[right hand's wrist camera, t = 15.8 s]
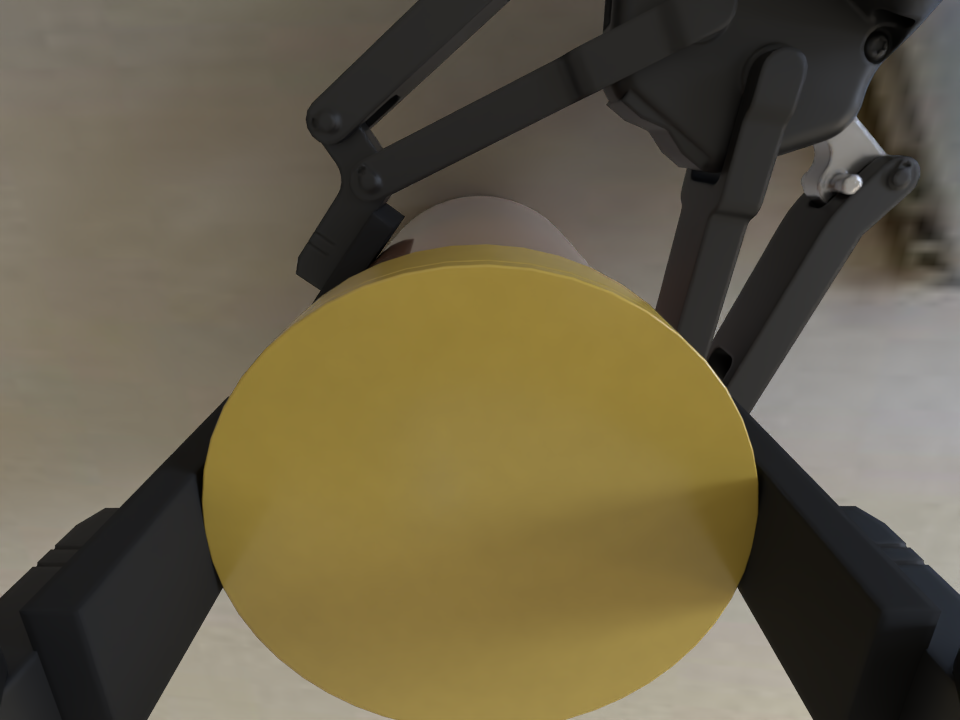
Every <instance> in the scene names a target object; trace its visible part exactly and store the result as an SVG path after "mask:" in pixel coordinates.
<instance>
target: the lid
mask: <svg viewBox="0 0 960 720" xmlns="http://www.w3.org/2000/svg"><path fill="white" fill-rule="evenodd" d="M202 510H203V520H204V527H205V533H206V537H207V542H208V546H209V551H210V555H211V559H212V562H213V565H214V567H215V569H216V572H217V574H218V577H219V579H220V581H221V584H222V586H223V588H224V590H225V592H226V594H227V595H228V597H229V599H230V600H231V602H232V604H233V605H234V607H235V609H236V610H237V612H238V614H239V615H240V616H241V618H242V619H243V620H244V622H245V623H246V624H247V625H248V627H249V628H250V629H251V630H252V632H253V633H254V634H255V635H256V637H257V638H258V639H259V640H260V641H261V642H262V643H263V644H264V645H265V646H266V647H267V648H268V649H269V650H270V651H271V652H272V653H273V654H274V655H275V656H276V657H277V658H278V659H280V660H281V661H282V662H283V663H285V664H286V665H287V666H289V667H290V668H291V669H292V670H294V671H295V672H296V673H297V674H299V675H300V676H301V677H303V678H304V679H306V680H308V681H309V682H311V683H312V684H314V685H316V686H317V687H319V688H321V689H322V690H324V691H325V692H327V693H329V694H331V695H333V696H335V697H337V698H339V699H341V700H343V701H346V702H348V703H350V704H352V705H354V706H356V707H359V708H362V709H364V710H367V711H370V712H373V713H375V714H378V715H381V716H384V717H388V718H391V719H395V720H566V719H569V718H572V717H575V716H579V715H582V714H585V713H588V712H591V711H594V710H597V709H599V708H601V707H603V706H606V705H608V704H610V703H613V702H615V701H617V700H620V699H622V698H624V697H626V696H627V695H629V694H631V693H633V692H634V691H636V690H638V689H640V688H642V687H643V686H645V685H647V684H649V683H650V682H651V681H653V680H654V679H656V678H657V677H658V676H660V675H661V674H663V673H664V672H665V671H667V670H668V669H670V668H671V667H672V666H674V665H675V664H676V663H677V662H678V661H679V660H680V659H681V658H683V657H684V656H685V655H686V654H687V653H688V652H689V651H690V650H691V649H693V648H694V647H695V646H696V645H697V644H698V642H699V641H700V640H701V639H702V638H703V637H704V635H705V634H706V633H707V632H708V631H709V630H710V629H711V627H712V626H713V625H714V624H715V623H716V621H717V620H718V618H719V617H720V615H721V614H722V612H723V611H724V609H725V608H726V606H727V605H728V603H729V602H730V600H731V599H732V597H733V595H734V592H735V590H736V588H737V586H738V584H739V582H740V580H741V578H742V576H743V574H744V572H745V569H746V566H747V562H748V559H749V556H750V552H751V548H752V544H753V539H754V534H755V529H756V523H757V518H758V477H757V471H756V464H755V458H754V452H753V448H752V445H751V442H750V439H749V436H748V433H747V430H746V427H745V424H744V421H743V418H742V416H741V414H740V413H739V411H738V409H737V407H736V405H735V403H734V401H733V399H732V397H731V395H730V393H729V392H728V390H727V388H726V387H725V385H724V384H723V383H722V381H721V380H720V379H719V377H718V376H717V374H716V373H715V372H714V370H713V369H712V368H711V366H710V365H709V364H708V362H707V361H706V360H705V359H704V358H703V357H702V356H701V355H700V354H699V353H698V352H697V351H696V350H695V349H694V348H693V347H692V346H691V345H690V344H689V343H688V342H687V341H686V340H685V339H684V338H683V337H682V336H681V335H680V334H679V333H678V332H677V331H676V330H675V329H674V328H673V327H672V326H671V325H670V324H669V323H668V322H667V321H666V320H665V319H664V318H663V317H662V316H661V315H660V314H659V313H657V312H656V311H655V310H654V309H653V308H652V307H651V306H650V305H649V304H648V303H647V302H645V301H644V300H643V299H641V298H640V297H639V296H637V295H636V294H635V293H633V292H632V291H630V290H629V289H628V288H626V287H625V286H624V285H622V284H621V283H619V282H617V281H615V280H613V279H611V278H609V277H608V276H606V275H604V274H602V273H600V272H598V271H596V270H595V269H593V268H591V267H588V266H585V265H583V264H580V263H577V262H575V261H572V260H569V259H567V258H564V257H561V256H559V255H554V254H550V253H545V252H541V251H537V250H532V249H528V248H523V247H512V246H501V245H490V244H481V245H456V246H446V247H441V248H435V249H429V250H423V251H418V252H413V253H410V254H407V255H404V256H401V257H398V258H394V259H391V260H388V261H385V262H382V263H380V264H377V265H375V266H373V267H371V268H369V269H367V270H365V271H363V272H361V273H358V274H356V275H354V276H352V277H350V278H348V279H347V280H345V281H344V282H342V283H341V284H339V285H338V286H336V287H335V288H333V289H332V290H330V291H329V292H327V293H326V294H324V295H322V296H321V297H320V298H319V299H318V300H317V301H315V302H314V303H313V304H312V305H311V306H310V307H309V308H308V309H306V310H305V311H304V312H303V313H302V314H301V315H300V316H298V317H297V318H296V319H295V320H294V321H293V322H292V323H291V324H290V325H289V326H288V327H287V328H286V329H285V330H284V331H283V332H282V333H281V334H280V335H279V336H278V337H277V338H276V339H275V340H274V341H273V342H272V343H271V344H270V345H269V346H268V347H267V348H266V349H265V350H264V351H263V352H262V353H261V354H260V356H259V357H258V358H257V359H256V360H255V362H254V363H253V364H252V365H251V366H250V368H249V369H248V370H247V371H246V372H245V373H244V375H243V376H242V377H241V379H240V380H239V382H238V384H237V385H236V387H235V389H234V390H233V392H232V394H231V395H230V397H229V398H228V400H227V402H226V403H225V405H224V407H223V409H222V412H221V414H220V416H219V419H218V421H217V424H216V426H215V429H214V431H213V434H212V436H211V439H210V444H209V448H208V453H207V457H206V461H205V466H204V472H203V488H202Z"/></svg>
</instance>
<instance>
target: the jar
mask: <svg viewBox="0 0 960 720" xmlns="http://www.w3.org/2000/svg"><path fill="white" fill-rule="evenodd" d="M481 244H490V245H501V246H512V247H523V248H528V249H532V250H537V251H541V252H545V253H550V254H554V255H559V256H561V257H564V258H567V259H569V260H572V261H575V262H577V263H580V264H583V265H585V266H588V267H591V266H590V265H589V264H588V263H587V261H586V260H585V259H584V258H583V257H582V256H581V255H580V253H579V252H578V251H577V250H576V249H575V248H574V247H573V245H572V244H571V243H570V242H569V241H568V240H567V238H566V237H565V236H564V235H563V234H562V233H561V232H560V231H559V230H558V229H557V228H556V227H555V226H554V225H553V224H552V223H551V222H550V221H549V220H548V219H546V218H545V217H544V216H542V215H541V214H540V213H538V212H536V211H535V210H533V209H531V208H529V207H527V206H525V205H523V204H520V203H518V202H515V201H512V200H508V199H504V198H500V197H493V196H466V197H461V198H455V199H451V200H448V201H445V202H442V203H439V204H437V205H435V206H433V207H431V208H429V209H427V210H425V211H424V212H422V213H421V214H419V215H418V216H416V217H415V218H413V219H412V220H411V221H410V222H409V223H408V224H407V225H406V226H404V227H403V229H402V230H401V231H400V232H399V233H398V234H397V235H396V237H395V238H394V239H393V240H392V241H391V242H390V244H389V245H388V246H387V247H386V248H385V249H384V251H383V252H382V253H381V254H380V255H379V256H378V258H377V259H376V260H375V261H374V262H373V263H372V264H371V266H370V267H369V268H371V267H373V266H375V265H377V264H380V263H382V262H385V261H388V260H391V259H394V258H398V257H401V256H404V255H407V254H410V253H413V252H418V251H423V250H429V249H435V248H441V247H446V246H456V245H481ZM369 268H368V269H369ZM591 268H592V267H591Z"/></svg>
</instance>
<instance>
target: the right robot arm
mask: <svg viewBox="0 0 960 720" xmlns="http://www.w3.org/2000/svg"><path fill="white" fill-rule="evenodd" d="M228 398H229V397H227V398H226V399H225V400H224V401H223V402H222V404H221V405H220V406H219V407H218V408H217V409H216V410H215V411H214V412H213V413H212V414H211V415H210V416H209V417H208V418H207V419H206V420H205V421H204V422H203V423H202V424H201V425H200V426H199V427H198V428H197V429H196V430H195V431H194V432H193V433H192V434H191V435H190V436H189V437H188V438H187V439H186V440H185V441H184V442H183V443H182V444H181V446H180V447H179V448H178V449H177V450H176V451H175V452H174V453H173V454H172V455H171V456H170V457H169V458H168V459H167V460H166V461H165V462H164V463H163V464H162V465H161V466H160V467H159V468H158V469H157V470H156V471H155V472H154V473H153V474H152V475H151V476H150V477H149V478H148V479H147V480H146V481H145V482H144V483H143V484H142V485H141V486H140V488H139V489H138V490H137V491H136V492H135V493H134V494H133V495H132V496H131V497H130V498H129V499H128V500H127V501H126V502H125V503H124V504H123V505H122V506H121V507H120V508H104V509H103V510H101V511H99V512H98V513H96V514H94V515H93V516H91V517H89V518H88V519H86V520H84V521H83V522H81V523H79V524H78V525H76V526H75V527H74V528H73V529H72V530H71V531H70V532H69V533H68V534H67V535H66V536H65V537H63V538H62V539H61V540H60V541H59V542H58V543H57V544H56V545H55V549H54V550H50V551H49V552H48V553H47V554H46V555H45V556H44V557H43V558H42V559H40V560H39V561H38V562H37V566H36V567H32V568H31V569H30V570H29V571H28V572H27V573H26V574H25V575H24V576H23V577H22V578H21V579H20V580H19V581H18V582H16V583H15V584H14V585H13V586H12V587H11V588H10V589H9V590H8V591H7V592H6V593H5V594H4V595H3V596H2V597H1V598H0V720H147V719H148V717H149V716H150V714H151V712H152V710H153V709H154V707H155V705H156V703H157V702H158V700H159V698H160V696H161V695H162V693H163V691H164V689H165V688H166V686H167V684H168V682H169V681H170V679H171V677H172V675H173V674H174V672H175V670H176V668H177V667H178V665H179V663H180V661H181V660H182V658H183V656H184V655H185V653H186V651H187V649H188V648H189V646H190V644H191V642H192V641H193V639H194V637H195V635H196V634H197V632H198V630H199V628H200V627H201V625H202V623H203V621H204V620H205V618H206V616H207V614H208V613H209V611H210V609H211V607H212V606H213V604H214V602H215V600H216V599H217V597H218V595H219V593H220V592H221V590H222V588H223V586H222V584H221V581H220V579H219V577H218V574H217V572H216V569H215V567H214V565H213V562H212V559H211V555H210V551H209V546H208V542H207V537H206V533H205V527H204V520H203V510H202V488H203V472H204V466H205V461H206V457H207V453H208V448H209V444H210V439H211V436H212V434H213V431H214V429H215V426H216V424H217V421H218V419H219V416H220V414H221V412H222V409H223V407H224V405H225V403H226V402H227V400H228ZM732 399H733V401H734V403H735V405H736V407H737V409H738V411H739V413H740V414H741V416H742V418H743V421H744V424H745V427H746V430H747V433H748V436H749V439H750V442H751V445H752V448H753V452H754V458H755V464H756V471H757V477H758V518H757V523H756V529H755V534H754V539H753V544H752V548H751V552H750V556H749V559H748V562H747V566H746V569H745V572H744V574H743V576H742V578H741V580H740V582H739V584H738V586H737V588H738V589H739V591H740V593H741V595H742V596H743V598H744V600H745V602H746V603H747V605H748V607H749V608H750V610H751V612H752V614H753V615H754V617H755V619H756V621H757V622H758V624H759V626H760V628H761V629H762V631H763V633H764V635H765V636H766V638H767V640H768V642H769V643H770V645H771V647H772V649H773V650H774V652H775V654H776V656H777V657H778V659H779V661H780V663H781V664H782V666H783V668H784V670H785V671H786V673H787V675H788V677H789V678H790V680H791V682H792V684H793V685H794V687H795V689H796V691H797V692H798V694H799V696H800V698H801V699H802V701H803V703H804V705H805V706H806V708H807V710H808V711H809V713H810V715H811V717H812V718H813V720H960V594H958V593H957V592H956V591H955V590H954V589H953V588H952V587H951V586H950V585H949V584H948V583H947V582H946V581H945V580H944V579H943V578H942V577H941V576H940V575H939V574H937V573H936V572H935V571H934V570H933V569H932V568H931V567H930V566H929V565H925V564H924V560H923V559H922V558H921V557H920V556H919V555H917V554H916V553H915V552H914V551H913V550H912V549H911V548H907V547H906V543H905V542H904V541H903V540H902V539H901V538H900V537H899V536H897V535H896V534H895V533H894V532H893V531H892V530H891V529H890V528H889V527H888V526H887V525H886V524H885V523H883V522H882V521H880V520H878V519H876V518H875V517H873V516H871V515H870V514H868V513H866V512H865V511H863V510H861V509H860V508H858V507H856V506H838V505H837V503H836V502H835V501H834V500H833V499H832V498H831V497H830V496H829V495H828V494H827V493H826V492H825V491H824V490H823V489H822V488H821V487H820V486H819V485H818V484H817V483H816V482H815V481H814V480H813V479H812V478H811V477H810V476H809V475H808V474H807V473H806V472H805V471H804V470H803V469H802V468H801V467H800V466H799V465H798V464H797V463H796V462H795V460H794V459H793V458H792V457H791V456H790V455H789V454H788V453H787V452H786V451H785V450H784V449H783V448H782V447H781V446H780V445H779V444H778V443H777V442H776V441H775V440H774V439H773V438H772V437H771V436H770V435H769V434H768V433H767V432H766V431H765V430H764V429H763V428H762V427H761V426H760V425H759V424H758V423H757V422H756V421H755V420H754V418H753V417H752V416H751V415H750V414H749V413H748V412H747V411H746V410H745V409H744V408H743V407H742V406H741V405H740V404H739V403H738V402H737V401H736V400H735V399H734V398H733V397H732Z"/></svg>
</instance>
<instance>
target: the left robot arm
mask: <svg viewBox="0 0 960 720" xmlns="http://www.w3.org/2000/svg"><path fill="white" fill-rule="evenodd" d="M509 1H510V0H419V1H418V2H416V3H415V4H414V5H413V6H412V7H411V8H410V9H409V10H408V11H407V12H406V13H405V14H404V15H403V16H402V17H401V18H400V19H399V20H398V21H397V22H396V23H395V24H394V25H393V26H392V27H391V28H390V29H389V30H387V31H386V32H385V33H384V34H383V35H382V36H381V37H380V38H379V39H378V40H377V41H376V42H375V43H374V44H373V45H372V46H371V47H370V48H369V49H368V50H367V51H366V52H365V53H364V54H363V55H362V56H361V57H360V58H358V59H357V60H356V61H355V62H354V63H353V64H352V65H351V66H350V67H349V68H348V69H347V70H346V71H345V72H344V73H343V74H342V75H341V76H340V77H339V78H338V79H337V80H336V81H335V82H334V83H333V84H332V85H331V86H329V87H328V88H327V89H326V90H325V91H324V92H323V93H322V94H321V95H320V96H319V97H318V98H317V99H316V100H315V101H314V102H313V103H312V104H311V106H310V107H309V109H308V110H307V116H306V123H307V128H308V130H309V131H310V133H311V135H312V136H313V137H314V138H315V139H316V140H318V141H319V142H321V143H322V144H323V146H324V147H325V148H326V150H327V151H328V153H329V154H330V155H331V157H332V158H333V160H334V161H335V162H336V164H337V166H338V168H339V170H340V174H341V188H340V191H339V193H338V195H337V197H336V198H335V200H334V201H333V203H332V205H331V206H330V208H329V209H328V211H327V213H326V214H325V216H324V217H323V219H322V221H321V222H320V224H319V225H318V227H317V228H316V230H315V232H314V233H313V235H312V236H311V238H310V240H309V242H308V243H307V244H306V246H305V248H304V249H303V251H302V252H301V254H300V255H299V257H298V263H297V270H296V274H297V275H298V276H300V277H301V278H303V279H304V280H306V281H307V282H309V283H310V284H312V285H313V286H315V287H316V288H318V289H319V290H321V291H320V293H319V294H318V296H317V297H316V299H315V300H314V302H315V301H317V300H318V299H319V298H320V297H321V296H322V295H324V294H326V293H327V292H329V291H330V290H332V289H333V288H335V287H336V286H338V285H339V284H341V283H342V282H344V281H345V280H347V279H348V278H350V277H352V276H354V275H356V274H358V273H361V272H363V271H365V270H367V269H368V268H369V267H370V266H371V264H372V263H373V262H374V261H375V260H376V258H377V257H378V255H379V254H380V252H381V251H382V249H383V248H384V246H385V245H386V244H387V242H388V241H389V239H390V238H391V236H392V235H393V233H394V232H395V230H396V229H397V227H398V226H399V224H400V223H401V221H402V220H403V218H404V216H403V215H402V214H400V213H399V212H398V211H396V210H395V209H394V208H392V207H391V206H389V205H388V204H387V203H386V202H387V201H388V199H389V198H390V196H391V195H392V194H394V193H396V192H398V191H400V190H402V189H404V188H406V187H408V186H410V185H412V184H414V183H416V182H418V181H420V180H422V179H424V178H426V177H428V176H430V175H432V174H434V173H436V172H437V171H439V170H441V169H443V168H445V167H447V166H449V165H451V164H453V163H455V162H457V161H459V160H461V159H463V158H465V157H467V156H469V155H471V154H473V153H475V152H477V151H479V150H481V149H483V148H485V147H487V146H489V145H491V144H493V143H495V142H497V141H499V140H501V139H503V138H505V137H507V136H509V135H511V134H513V133H515V132H517V131H519V130H521V129H523V128H525V127H527V126H529V125H531V124H533V123H535V122H537V121H539V120H541V119H543V118H545V117H547V116H549V115H551V114H553V113H555V112H557V111H559V110H561V109H563V108H565V107H567V106H569V105H571V104H573V103H575V102H577V101H579V100H581V99H583V98H585V97H587V96H589V95H592V94H594V93H596V92H598V91H600V90H602V89H603V90H604V92H605V94H606V97H607V98H608V100H609V102H608V103H607V106H609V107H610V108H611V109H612V110H613V111H614V112H616V113H617V114H618V115H619V116H620V117H621V118H623V119H624V120H625V121H627V122H630V123H632V124H634V125H636V126H639V127H641V128H643V129H645V130H647V131H648V132H649V133H650V135H651V136H652V138H653V139H654V141H655V142H656V144H657V146H658V147H659V149H660V150H661V152H662V153H663V154H665V155H666V156H667V157H668V158H669V159H670V160H672V161H673V162H674V163H675V164H676V165H677V166H679V167H683V168H687V171H686V175H685V178H684V182H683V186H682V191H681V202H682V210H681V214H680V218H679V222H678V225H677V229H676V233H675V237H674V241H673V244H672V248H671V252H670V256H669V260H668V264H667V267H666V271H665V275H664V279H663V283H662V286H661V290H660V294H659V298H658V302H657V306H656V309H655V311H656V312H657V313H659V314H660V315H661V316H662V317H663V318H664V319H665V320H666V321H667V322H668V323H669V324H670V325H671V326H672V327H673V328H674V329H675V330H676V331H677V332H678V333H679V334H680V335H681V336H682V337H683V338H684V339H685V340H686V341H687V342H688V343H689V344H690V345H691V346H692V347H693V348H694V349H695V350H696V351H697V352H698V353H699V354H700V355H701V356H702V357H703V358H704V359H705V360H706V361H707V362H708V364H709V365H710V366H711V368H712V369H713V370H714V372H715V373H716V374H717V376H718V377H719V379H720V380H721V381H722V383H723V384H724V385H725V387H726V388H727V390H728V392H729V393H730V395H731V397H733V398H734V399H735V400H736V401H737V402H738V403H739V404H740V405H741V406H742V407H743V408H744V409H745V410H746V411H747V412H748V413H750V412H751V410H752V409H753V407H754V406H755V404H756V402H757V401H758V399H759V398H760V396H761V395H762V393H763V391H764V390H765V388H766V387H767V385H768V383H769V382H770V380H771V379H772V377H773V376H774V374H775V372H776V371H777V369H778V368H779V366H780V365H781V363H782V361H783V360H784V358H785V357H786V355H787V353H788V352H789V350H790V349H791V347H792V346H793V344H794V342H795V341H796V339H797V338H798V336H799V334H800V333H801V331H802V330H803V328H804V327H805V325H806V323H807V322H808V320H809V319H810V317H811V316H812V314H813V312H814V311H815V309H816V308H817V306H818V304H819V303H820V301H821V300H822V298H823V297H824V295H825V293H826V292H827V290H828V289H829V287H830V285H831V284H832V282H833V281H834V279H835V278H836V276H837V274H838V273H839V271H840V270H841V268H842V267H843V265H844V263H845V262H846V260H847V259H848V257H849V255H850V254H851V252H852V251H853V249H854V248H855V246H856V244H857V243H858V241H859V240H860V238H861V237H862V235H863V234H864V233H865V232H867V231H868V230H869V229H870V228H871V227H872V226H873V225H874V224H875V223H877V222H878V221H879V220H880V219H881V218H882V217H883V216H884V215H886V214H887V213H888V212H889V211H890V210H891V209H892V208H893V207H895V206H896V205H897V204H898V203H899V202H900V201H901V200H902V199H904V198H905V197H906V196H907V195H908V194H909V193H910V192H911V191H912V190H913V189H914V188H915V186H916V185H917V183H918V180H919V178H920V167H919V165H918V162H917V161H916V160H915V159H913V158H912V157H909V156H899V155H888V154H887V153H885V152H884V150H883V149H882V148H881V147H880V145H879V144H878V143H877V142H876V140H875V139H874V138H873V137H872V135H871V134H870V133H869V132H868V131H867V129H866V128H865V127H864V126H863V124H862V123H861V122H860V121H859V119H858V118H857V117H856V116H857V114H858V112H859V110H860V108H861V106H862V103H863V99H864V96H865V93H866V90H867V88H868V85H869V83H870V81H871V79H872V77H873V76H874V74H875V72H876V71H877V69H878V68H879V66H880V65H881V64H882V63H883V62H884V61H885V59H886V58H887V57H888V56H889V55H891V54H892V53H893V52H894V51H895V50H896V49H897V48H898V47H899V46H900V45H901V44H902V43H903V42H904V41H905V40H906V39H907V38H908V37H909V36H910V35H911V34H912V33H913V32H914V31H915V30H916V29H917V28H918V27H919V26H920V25H921V24H922V23H923V22H924V20H925V19H926V18H927V17H928V16H929V15H930V14H931V13H932V11H933V10H934V9H935V8H936V7H937V6H938V5H939V3H940V2H941V1H942V0H605V12H604V25H603V34H602V35H600V36H598V37H596V38H594V39H592V40H590V41H589V42H587V43H585V44H583V45H581V46H579V47H577V48H575V49H573V50H572V51H570V52H568V53H566V54H565V55H563V56H561V57H560V58H558V59H556V60H554V61H552V62H550V63H548V64H546V65H545V66H543V67H541V68H539V69H537V70H535V71H533V72H531V73H529V74H527V75H525V76H523V77H521V78H519V79H517V80H515V81H514V82H512V83H510V84H508V85H506V86H504V87H502V88H500V89H498V90H496V91H494V92H492V93H490V94H488V95H486V96H485V97H483V98H481V99H479V100H477V101H475V102H473V103H471V104H469V105H467V106H465V107H463V108H461V109H459V110H457V111H456V112H454V113H452V114H450V115H448V116H446V117H444V118H442V119H440V120H438V121H436V122H434V123H432V124H430V125H428V126H427V127H425V128H423V129H421V130H419V131H417V132H415V133H413V134H411V135H409V136H407V137H405V138H403V139H401V140H399V141H397V142H396V143H394V144H392V145H390V146H388V147H386V148H384V149H383V148H382V146H381V145H380V143H379V142H378V140H377V139H376V137H375V136H374V134H373V133H372V131H371V130H370V129H371V128H372V127H373V126H374V125H375V124H376V123H377V122H379V121H380V120H381V119H382V118H383V117H384V116H385V115H386V114H387V113H388V112H389V111H390V110H392V109H393V108H394V107H395V106H396V105H397V104H398V103H399V102H400V101H401V100H402V99H403V98H405V97H406V96H407V95H408V94H409V93H410V92H411V91H412V90H413V89H414V88H415V87H416V86H418V85H419V84H420V83H421V82H422V81H423V80H424V79H425V78H426V77H427V76H428V75H430V74H431V73H432V72H433V71H434V70H435V69H436V68H437V67H438V66H439V65H440V64H441V63H443V62H444V61H445V60H446V59H447V58H448V57H449V56H450V55H451V54H452V53H453V52H454V51H456V50H457V49H458V48H459V47H460V46H461V45H462V44H463V43H464V42H465V41H466V40H467V39H469V38H470V37H471V36H472V35H473V34H474V33H475V32H476V31H477V30H478V29H479V28H480V27H482V26H483V25H484V24H485V23H486V22H487V21H488V20H489V19H490V18H491V17H492V16H493V15H495V14H496V13H497V12H498V11H499V10H500V9H501V8H502V7H503V6H504V5H505V4H507V3H508V2H509ZM811 145H813V146H814V151H815V157H814V161H813V164H812V166H811V167H810V169H809V170H808V172H806V173H805V174H804V175H803V176H802V179H801V185H802V186H803V190H804V193H803V195H802V196H801V197H800V198H799V199H798V200H797V201H796V202H795V204H794V205H793V206H792V207H791V209H790V210H789V211H788V212H787V214H786V216H785V217H784V219H783V220H782V222H781V223H780V225H779V227H778V228H777V230H776V232H775V234H774V235H773V237H772V239H771V240H770V242H769V244H768V246H767V247H766V249H765V251H764V253H763V254H762V256H761V258H760V259H759V261H758V263H757V265H756V266H755V268H754V270H753V272H752V273H751V275H750V277H749V279H748V280H747V282H746V284H745V285H744V287H743V289H742V291H741V292H740V294H739V296H738V298H737V299H736V301H735V303H734V304H733V306H732V308H731V310H730V311H729V313H728V315H727V317H726V318H725V320H724V322H723V323H722V325H721V327H720V329H719V330H718V332H717V334H716V336H715V337H714V339H713V336H714V333H715V330H716V326H717V323H718V320H719V316H720V313H721V310H722V307H723V303H724V300H725V297H726V293H727V290H728V287H729V284H730V280H731V277H732V274H733V270H734V267H735V264H736V261H737V257H738V254H739V251H740V247H741V244H742V241H743V238H744V234H745V231H746V228H747V225H748V223H749V221H750V220H751V219H752V218H753V217H754V216H756V215H757V213H758V211H759V210H760V208H761V205H762V203H763V199H764V196H765V193H766V190H767V187H768V183H769V180H770V177H771V174H772V170H773V167H774V164H775V161H776V157H777V156H779V155H783V154H786V153H789V152H792V151H795V150H798V149H802V148H805V147H808V146H811ZM314 302H313V303H314ZM313 303H312V304H313ZM712 339H713V341H712Z"/></svg>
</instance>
